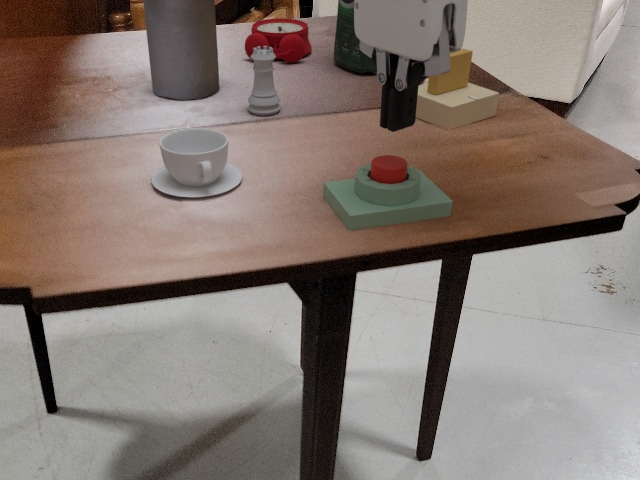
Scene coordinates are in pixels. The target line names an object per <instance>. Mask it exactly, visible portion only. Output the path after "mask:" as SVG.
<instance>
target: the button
mask: <svg viewBox="0 0 640 480" xmlns="http://www.w3.org/2000/svg"><path fill="white" fill-rule="evenodd" d="M370 164H371V173H370V178H371V180H373V181H376V182H379V183H384V184H396V183H402V182H404V181H405V180H406V174H407V166H409V165H408V161H407V160H406V159H405V158H404V157H401V156H398V155H391V154H385V155H378V156H375V157H374V158H372V159H371V162H370Z"/></svg>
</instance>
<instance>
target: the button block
mask: <svg viewBox="0 0 640 480" xmlns="http://www.w3.org/2000/svg"><path fill="white" fill-rule="evenodd" d="M370 173H371V163H367V164H365V165H362V166H360V167H358V168H357V170H356V173H355V175H354V178H347V179H339V180H331V181H324V182H323V187H322V197H323V199H324V200H325V201H326V203H327V204H328V205H329V206H330V208H331V209H332V210H333V212H334V213H335V215H336V216H337V217H338V218H339V219H340V220H341V222H342V223H343V225H344V226H345V227H346V229H347V231H350V232H351V231H358V230H364V229H365V230H366V229H370V228H371V229H372V228H377V227H378V228H379V227H386V226H392V225H393V226H394V225H399V224H405V223H412V222H413V223H414V222H420V221H425V220H426V221H427V220H434V219H440V218H447V217H452V211H453V204H454V200H453V199H451V198H450V197H449V196H448V195H447V194H446V193H445V192H444V191H442V189H440V188H439V186H437V184H435V183H434V182H433V181H432V180H431V179H430V178H428V177H427V175H426V174H424V172H422V171H421V170H420V169H416V168H415V167H412V166H409V165H407V174H406V180H405V181H404V182H402V183H396V184H384V183H379V182H376V181H373V180H371V178H370Z"/></svg>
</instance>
